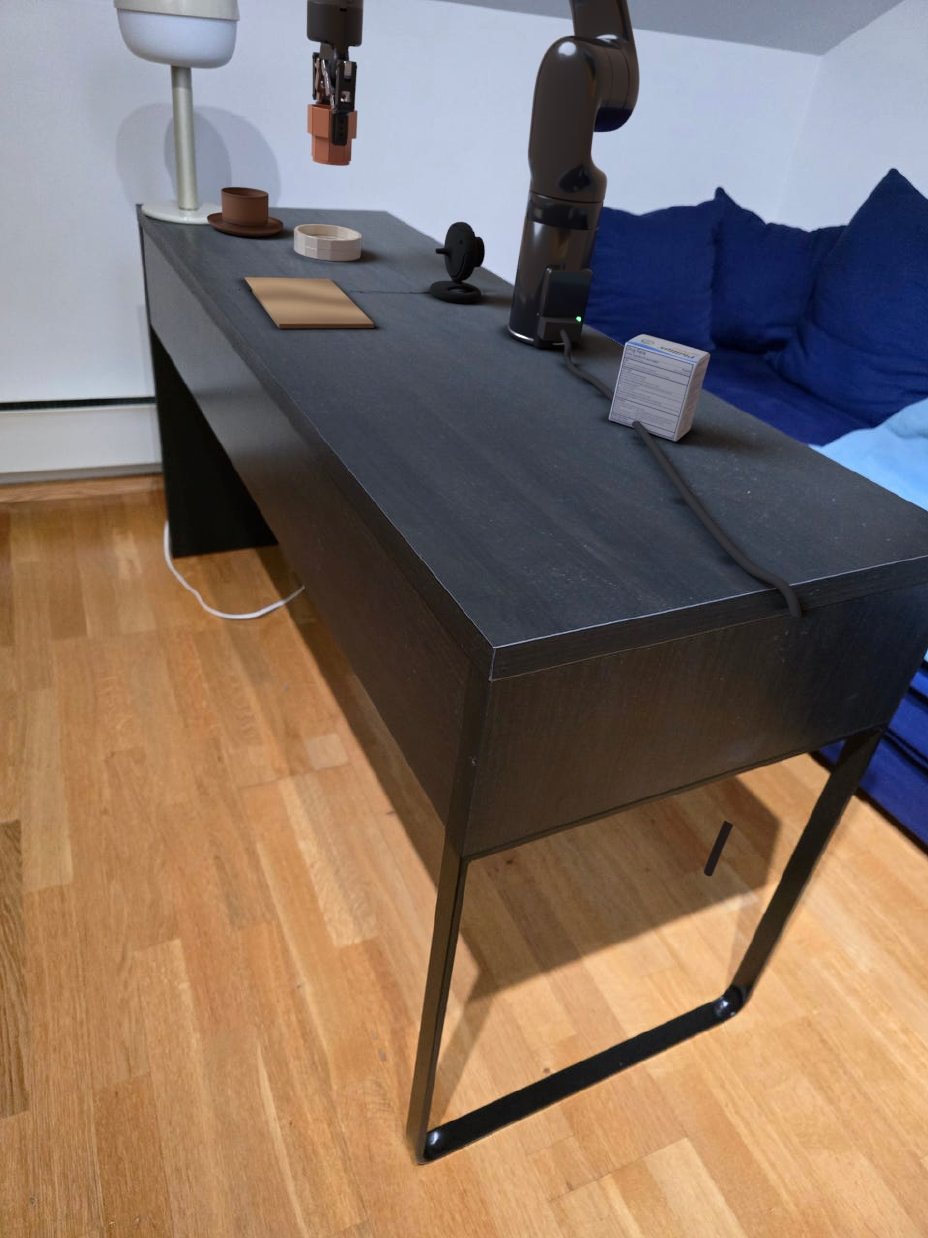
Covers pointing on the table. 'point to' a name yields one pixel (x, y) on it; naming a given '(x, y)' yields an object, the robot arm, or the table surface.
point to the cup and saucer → (245, 213)
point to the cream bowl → (327, 242)
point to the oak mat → (307, 303)
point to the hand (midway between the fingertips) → (331, 140)
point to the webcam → (460, 264)
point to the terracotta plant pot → (329, 136)
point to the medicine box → (659, 386)
